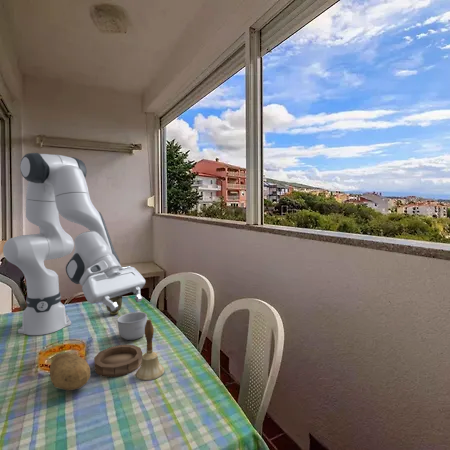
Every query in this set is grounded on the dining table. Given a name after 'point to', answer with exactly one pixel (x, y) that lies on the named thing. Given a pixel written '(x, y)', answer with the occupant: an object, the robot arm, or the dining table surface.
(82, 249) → the robot arm
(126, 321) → the teacup
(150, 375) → the hand bell
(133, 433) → the dining table surface
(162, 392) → the dining table surface
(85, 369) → the potato
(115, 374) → the tray
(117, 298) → the cup
